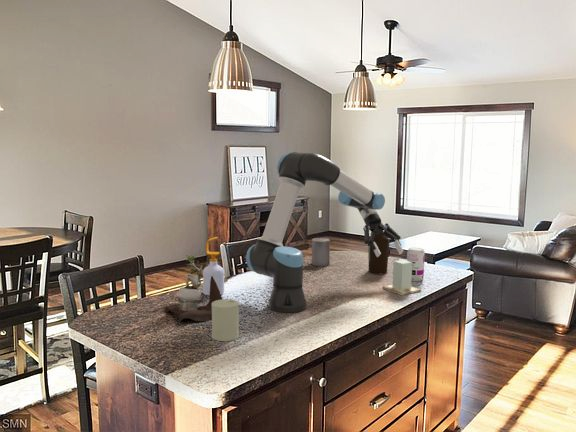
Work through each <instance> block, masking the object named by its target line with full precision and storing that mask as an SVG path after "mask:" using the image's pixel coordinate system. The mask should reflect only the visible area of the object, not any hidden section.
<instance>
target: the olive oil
mask: <svg viewBox="0 0 576 432" xmlns="http://www.w3.org/2000/svg"><path fill="white" fill-rule="evenodd" d="M369 239H370V237H369ZM373 242H375V243H376V245H377V247H378V249H379V251H380V253H381V254H380V255H379V256H378V257H377V256H376V254H375V252H374V251H373V250H372V249H371V247H370V246H368V245H367V248H368V251H367V252H368V253H367V255H368V258H367V259H368V271H367V272H369V273H371V274H374V275H375V274H376V275H377V274H378V275H384V274H387V272H388V264H389V261H388V260H389V252H390V251H389V250H390V239H389V238H388V237H386V236H385V235H382V234H375V236H374V240H373Z"/></svg>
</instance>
